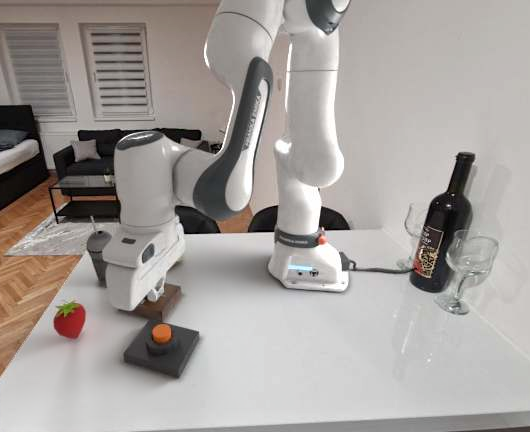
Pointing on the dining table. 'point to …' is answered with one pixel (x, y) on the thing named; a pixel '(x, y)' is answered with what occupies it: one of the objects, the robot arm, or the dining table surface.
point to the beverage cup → (98, 252)
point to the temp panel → (158, 304)
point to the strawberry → (69, 319)
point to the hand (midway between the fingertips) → (156, 296)
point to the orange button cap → (161, 333)
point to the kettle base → (162, 349)
